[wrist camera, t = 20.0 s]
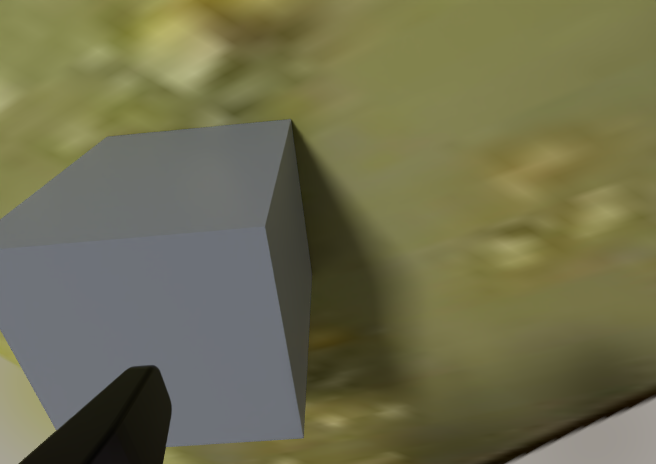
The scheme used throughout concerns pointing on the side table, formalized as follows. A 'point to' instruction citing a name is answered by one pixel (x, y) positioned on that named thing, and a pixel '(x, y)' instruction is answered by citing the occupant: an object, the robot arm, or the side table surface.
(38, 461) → the robot arm
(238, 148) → the grey block
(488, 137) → the side table surface
